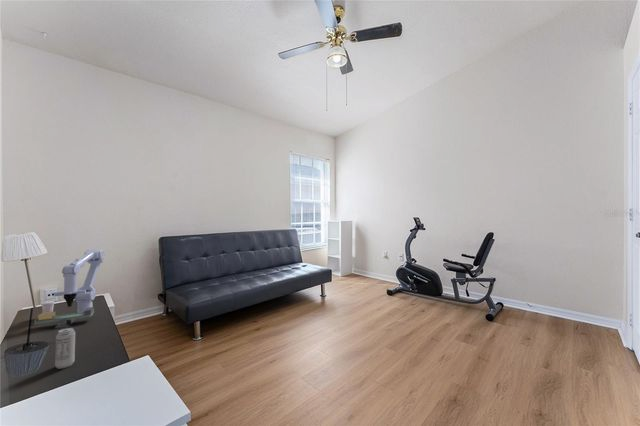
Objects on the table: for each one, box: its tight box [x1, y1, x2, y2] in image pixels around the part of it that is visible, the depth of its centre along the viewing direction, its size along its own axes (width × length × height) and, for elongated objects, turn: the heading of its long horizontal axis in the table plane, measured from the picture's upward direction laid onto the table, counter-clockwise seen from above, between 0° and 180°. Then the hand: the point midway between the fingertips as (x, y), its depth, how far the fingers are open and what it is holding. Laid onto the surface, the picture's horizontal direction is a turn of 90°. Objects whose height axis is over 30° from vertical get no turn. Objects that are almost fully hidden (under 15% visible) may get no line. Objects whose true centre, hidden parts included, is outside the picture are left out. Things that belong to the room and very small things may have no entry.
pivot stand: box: [54, 313, 76, 330], centre depth 163 cm, size 12×6×5 cm, turn 29°
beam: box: [33, 306, 95, 326], centre depth 163 cm, size 9×25×4 cm, turn 119°
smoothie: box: [40, 295, 56, 313], centre depth 176 cm, size 6×6×14 cm
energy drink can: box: [54, 327, 76, 370], centre depth 115 cm, size 6×6×15 cm
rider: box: [37, 310, 56, 321], centre depth 159 cm, size 5×6×4 cm
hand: (69, 306), depth 166 cm, fingers closed
